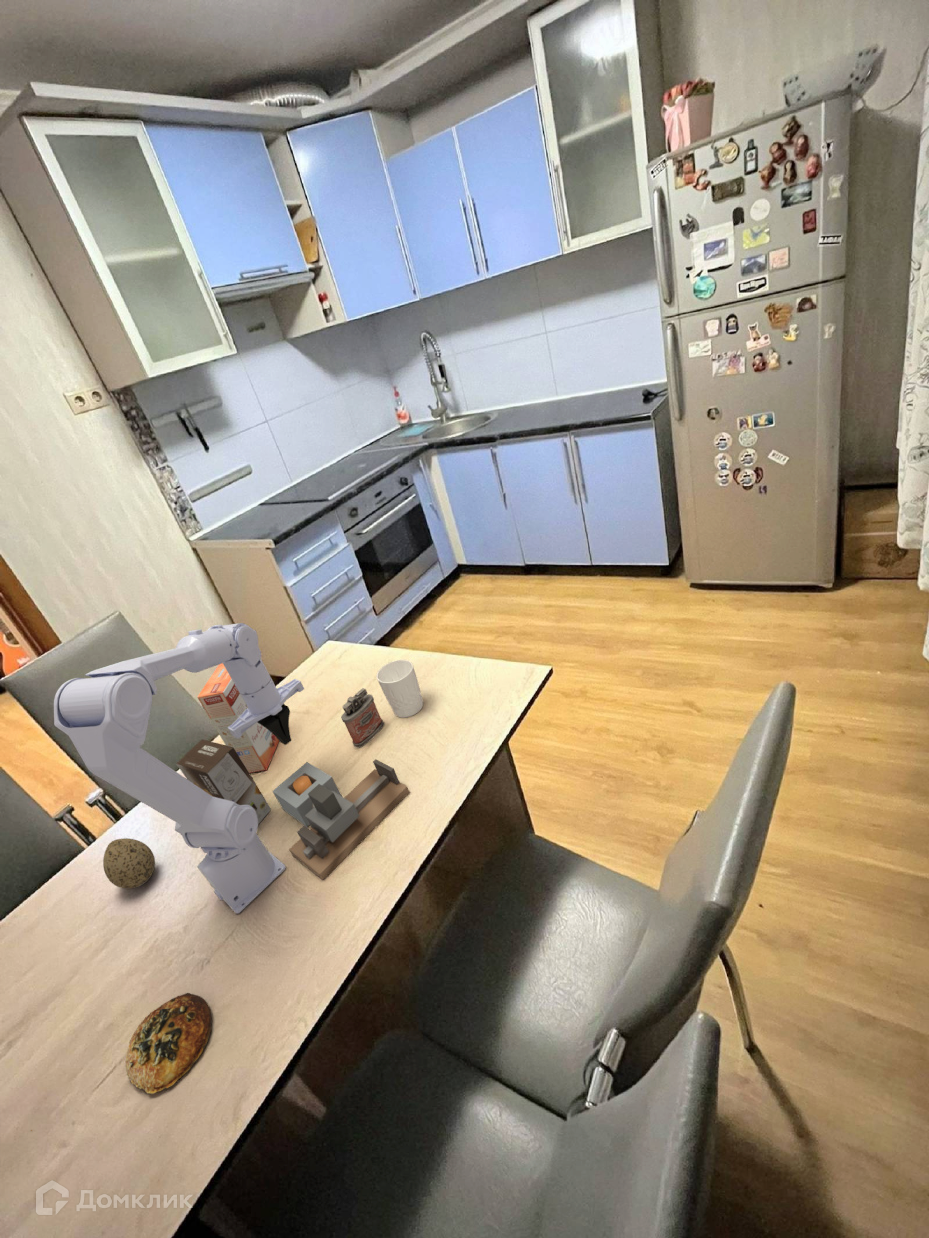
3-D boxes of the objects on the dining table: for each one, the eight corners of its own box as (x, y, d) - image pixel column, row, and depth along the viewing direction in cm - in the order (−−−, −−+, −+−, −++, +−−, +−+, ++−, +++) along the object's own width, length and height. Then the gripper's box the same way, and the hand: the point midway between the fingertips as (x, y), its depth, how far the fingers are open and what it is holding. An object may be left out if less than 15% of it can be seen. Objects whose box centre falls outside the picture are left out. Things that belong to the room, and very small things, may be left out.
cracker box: (269, 770, 116) (223, 691, 106) (242, 775, 117) (193, 697, 107) (288, 724, 128) (248, 649, 118) (263, 729, 129) (222, 655, 119)
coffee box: (273, 808, 107) (235, 746, 99) (248, 836, 102) (207, 773, 94) (240, 798, 111) (202, 738, 104) (216, 824, 107) (173, 763, 99)
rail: (323, 880, 90) (311, 860, 88) (292, 855, 96) (280, 835, 94) (409, 792, 102) (401, 772, 99) (377, 774, 108) (368, 755, 105)
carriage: (332, 842, 92) (316, 813, 89) (311, 827, 96) (295, 799, 93) (359, 815, 96) (345, 787, 92) (338, 802, 100) (323, 774, 96)
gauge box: (307, 827, 100) (297, 808, 98) (283, 809, 106) (272, 791, 103) (342, 795, 105) (332, 777, 103) (316, 780, 110) (306, 761, 108)
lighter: (361, 749, 115) (344, 712, 110) (350, 744, 117) (332, 707, 112) (387, 723, 120) (372, 686, 115) (376, 719, 122) (361, 683, 117)
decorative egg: (168, 876, 99) (138, 839, 94) (126, 906, 95) (93, 870, 90) (157, 854, 104) (128, 817, 99) (118, 882, 101) (85, 846, 96)
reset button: (308, 807, 103) (298, 790, 101) (299, 801, 105) (289, 784, 103) (321, 796, 105) (312, 779, 103) (312, 790, 107) (302, 773, 105)
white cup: (385, 719, 121) (370, 683, 116) (399, 695, 128) (385, 659, 123) (418, 720, 118) (404, 682, 114) (431, 695, 125) (418, 658, 120)
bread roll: (226, 989, 79) (206, 976, 76) (202, 1091, 70) (179, 1081, 67) (153, 1004, 80) (131, 991, 77) (122, 1105, 71) (95, 1096, 68)
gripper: (229, 716, 93) (264, 775, 99) (300, 665, 101) (328, 722, 108) (210, 704, 97) (244, 761, 104) (279, 657, 105) (307, 712, 112)
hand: (285, 741), depth 106 cm, fingers closed
